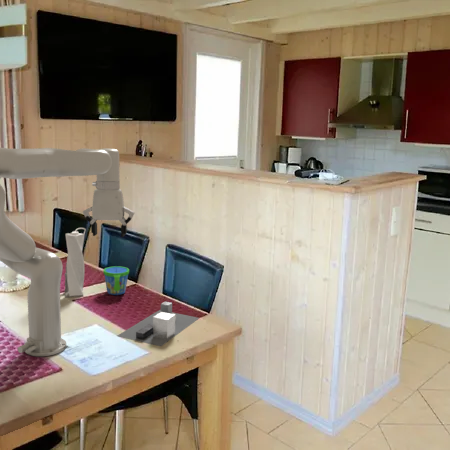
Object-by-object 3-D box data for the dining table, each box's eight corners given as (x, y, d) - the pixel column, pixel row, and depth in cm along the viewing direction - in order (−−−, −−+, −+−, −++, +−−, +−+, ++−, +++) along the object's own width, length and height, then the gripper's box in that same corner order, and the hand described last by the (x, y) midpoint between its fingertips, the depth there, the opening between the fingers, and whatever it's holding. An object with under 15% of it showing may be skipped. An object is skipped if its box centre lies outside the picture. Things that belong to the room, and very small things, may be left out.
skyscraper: (85, 290, 218) (84, 225, 212) (87, 296, 210) (86, 229, 205) (64, 292, 215) (63, 226, 209) (65, 298, 207) (64, 230, 202)
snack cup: (128, 299, 210) (128, 275, 208) (101, 299, 208) (101, 275, 206) (129, 286, 225) (130, 264, 223) (105, 286, 223) (105, 264, 221)
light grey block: (167, 339, 170) (167, 319, 169) (152, 336, 172) (153, 316, 171) (174, 334, 175) (175, 314, 174) (161, 331, 177) (161, 311, 176)
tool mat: (160, 348, 165) (160, 346, 165) (116, 338, 172) (116, 335, 172) (199, 319, 191) (199, 317, 191) (159, 311, 197) (159, 309, 197)
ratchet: (148, 341, 169) (149, 321, 167) (130, 337, 171) (130, 317, 170) (179, 320, 188) (179, 302, 186) (162, 316, 190) (163, 298, 189)
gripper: (79, 186, 169) (80, 237, 172) (131, 188, 168) (132, 239, 172) (85, 183, 176) (87, 232, 180) (136, 185, 176) (136, 233, 179)
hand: (109, 235), depth 176 cm, fingers open, 9 cm apart
